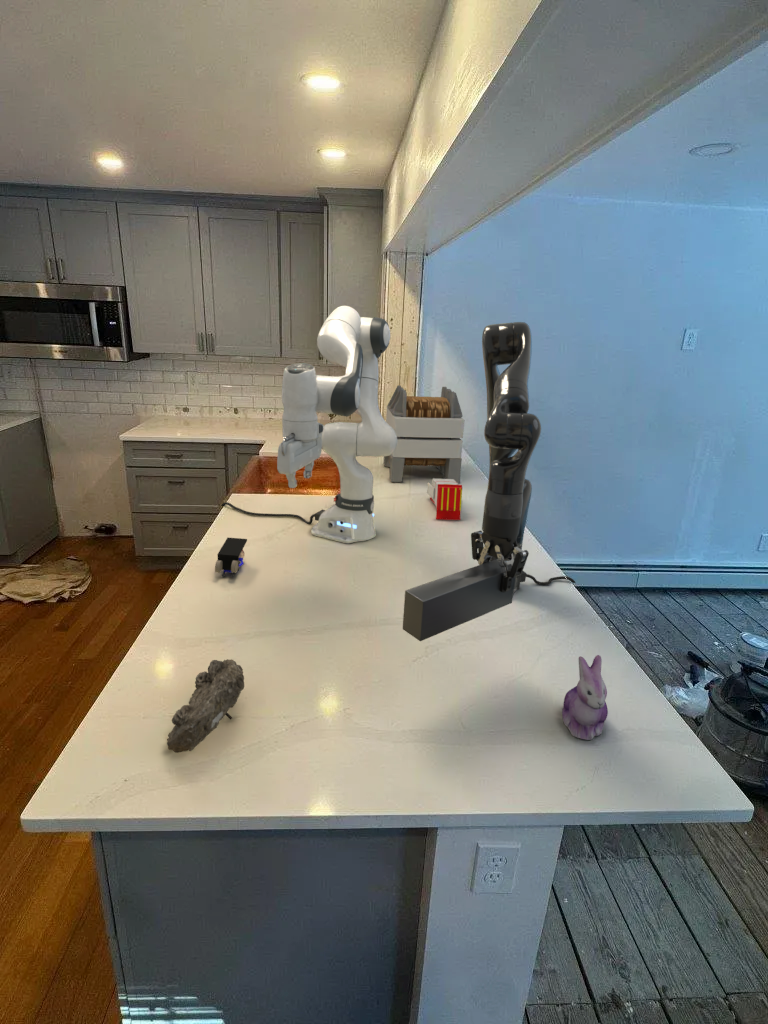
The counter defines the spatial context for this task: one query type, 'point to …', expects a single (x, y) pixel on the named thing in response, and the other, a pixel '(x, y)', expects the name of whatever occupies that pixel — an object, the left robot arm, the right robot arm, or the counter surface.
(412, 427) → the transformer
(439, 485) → the toy
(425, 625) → the bar
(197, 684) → the fossil
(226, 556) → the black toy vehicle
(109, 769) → the counter surface
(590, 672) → the figurine
